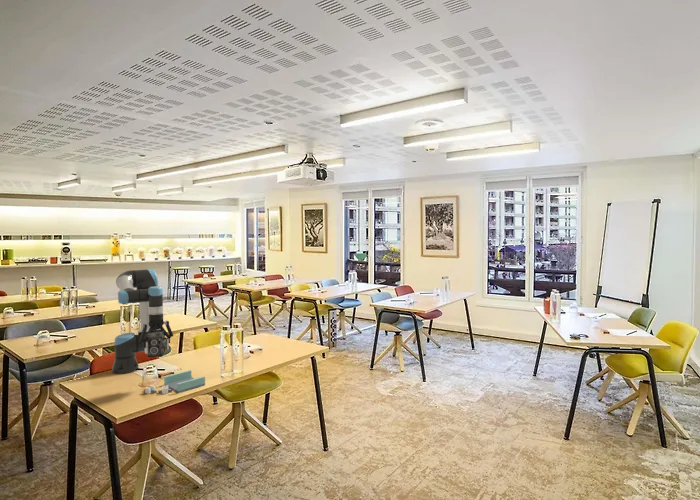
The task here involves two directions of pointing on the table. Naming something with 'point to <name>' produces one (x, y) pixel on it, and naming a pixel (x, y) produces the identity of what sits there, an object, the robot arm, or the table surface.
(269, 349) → the table surface
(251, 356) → the table surface
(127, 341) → the robot arm
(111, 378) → the table surface
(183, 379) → the dock
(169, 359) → the table surface
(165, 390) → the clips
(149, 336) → the camera
